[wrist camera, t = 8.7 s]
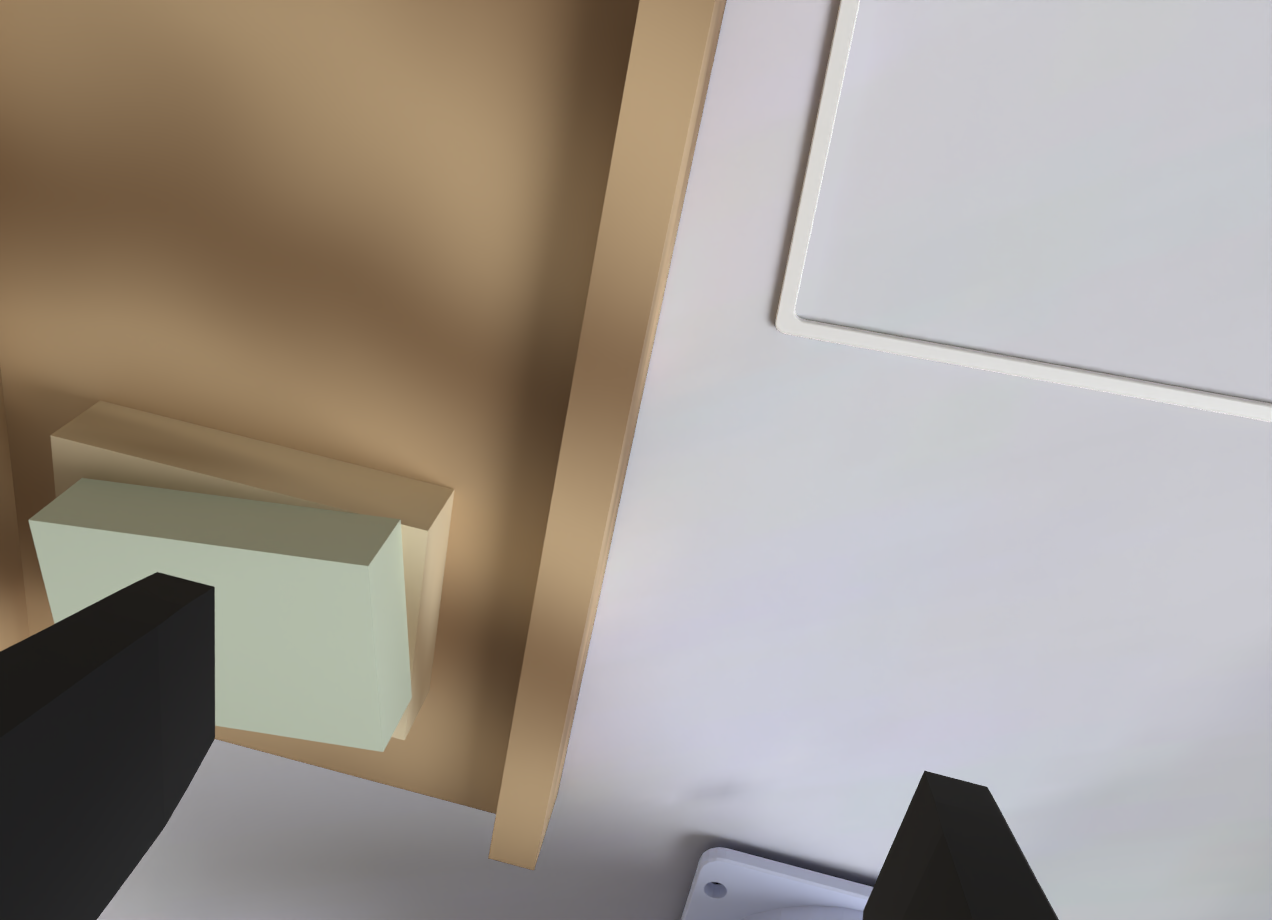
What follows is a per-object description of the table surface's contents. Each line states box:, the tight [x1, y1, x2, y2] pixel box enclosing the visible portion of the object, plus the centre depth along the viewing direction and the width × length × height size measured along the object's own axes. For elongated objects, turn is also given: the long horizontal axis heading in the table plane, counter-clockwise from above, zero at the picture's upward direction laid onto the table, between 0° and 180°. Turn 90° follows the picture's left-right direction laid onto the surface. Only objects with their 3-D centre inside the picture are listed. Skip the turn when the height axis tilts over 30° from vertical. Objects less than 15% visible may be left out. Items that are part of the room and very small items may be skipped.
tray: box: [0, 0, 726, 870], centre depth 19 cm, size 22×13×2 cm, turn 169°
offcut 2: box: [28, 478, 412, 752], centre depth 20 cm, size 4×6×2 cm, turn 87°
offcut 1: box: [50, 401, 454, 740], centre depth 21 cm, size 5×7×2 cm
